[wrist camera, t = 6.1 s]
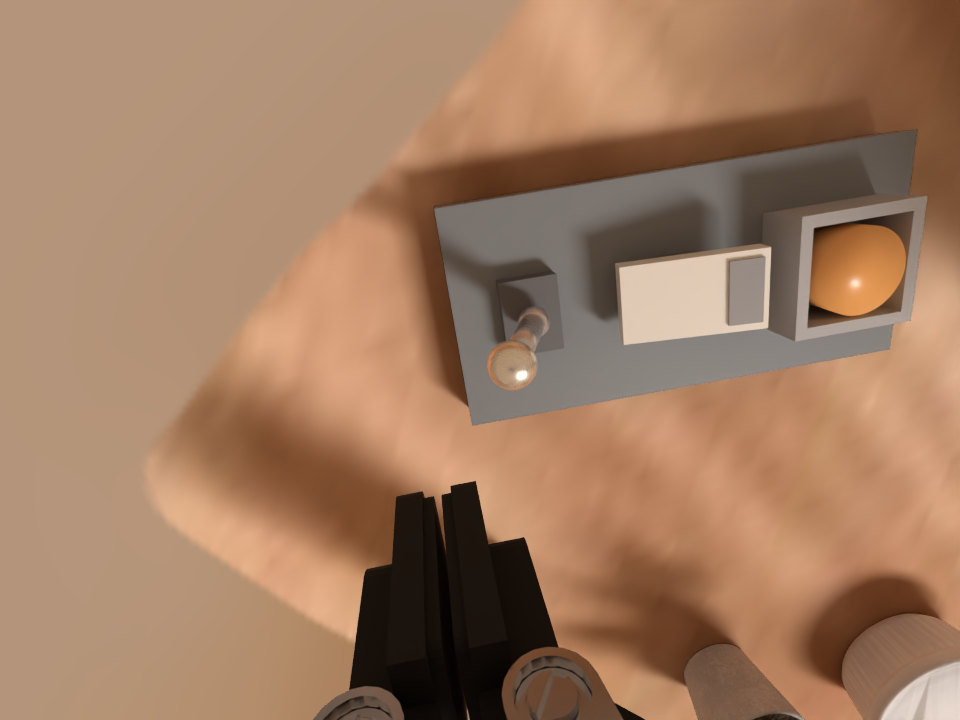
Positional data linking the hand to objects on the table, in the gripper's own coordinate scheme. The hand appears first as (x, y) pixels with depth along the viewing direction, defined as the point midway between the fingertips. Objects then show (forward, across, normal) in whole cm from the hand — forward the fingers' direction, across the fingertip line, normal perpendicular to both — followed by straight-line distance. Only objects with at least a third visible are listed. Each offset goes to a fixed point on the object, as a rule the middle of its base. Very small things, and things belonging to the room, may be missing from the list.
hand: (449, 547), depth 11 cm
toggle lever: (+16, -5, 0) cm, 17 cm away
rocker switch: (+16, -13, 0) cm, 21 cm away
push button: (+17, -21, 0) cm, 27 cm away
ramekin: (+20, -33, +35) cm, 52 cm away
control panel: (+20, -14, 0) cm, 24 cm away
